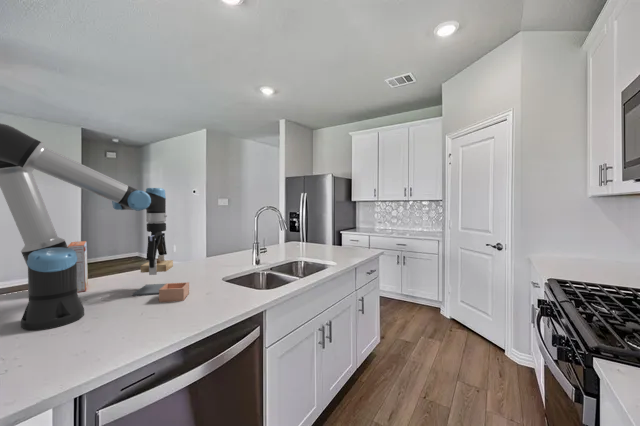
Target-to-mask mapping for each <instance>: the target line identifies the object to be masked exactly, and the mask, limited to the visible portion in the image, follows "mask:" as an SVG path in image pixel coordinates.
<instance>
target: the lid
mask: <svg viewBox="0 0 640 426" xmlns="http://www.w3.org/2000/svg"><path fill="white" fill-rule="evenodd" d="M155 260H156V264H157V273H165V272H166V273H167V271H169V270H171V269H172V268H173V267H174V259H170V260H167V259H165V260H163V261H160V258H158V257H156V258H155ZM141 273H142V274H143V273H149V261H147V262H145V263H143V264H141V265H140V274H141Z"/></svg>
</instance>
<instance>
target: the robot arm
mask: <svg viewBox="0 0 640 426" xmlns="http://www.w3.org/2000/svg"><path fill="white" fill-rule="evenodd" d="M34 170H36V171H39V172H41V173H43V174H46V175H48V176H50V177H53V178H56V179H58V180H61V181H63V182H66V183H68V184H70V185H73V186H75V187H77V188H80V189H81V190H85V191H87V192H89V193H92V194H94V195H97V196H99V197H102V198H104V199H106V200H108V201H111V204H112V208H113V209H114V210H116V211H117V210H118V211H119V210H120V211H126V210H127V211H128V210H129V211H137V212H140V211H144V210H146V211H145V212H146V213H145V215H146V218H145V219H146V231H147V232H149V233H150V235H148V236H147V250H146V257H145V260H146V261H148V262H149V272H148V275H149V276H156V275H158V272H157V264H156V260H155V259H156V258H160V261H163V260H166V255H167V254H168V251H167V246H166V235H165V234H166V233H165V231H167V223H166V221H167V217H168V215H167V214H166V213H167V211H166V206H167V205H166V200H167V198H166V190H165V189H164V188H163V187H162V188H161V187H147V188H146V189H145V191H144V190H139V189H136V188H134V187H132V186H129V185H128V184H125V183H123V182H121V181H119V180H117V179H115V178H112V177H110V176H108V175H106V174H104V173H102V172H99V171H98V170H95V169H93V168H91V167H89V166H87V165H84V164H82V163H80V162H78V161H76V160H73V159H71V158H70V157H67V156H65V155H62V154H60V153H58V152H57V151H54V150H52V149H49V148H48V147H46V146H45V144H44V142H42V141H40V140H38V139H36V138H34V137H32V136H30V135H28V134H26V133H24V132H23V131H21V130H19V129H18V128H15V127H13V126H11V125H9V124H5V123H1V122H0V190H1V192H2V195H3V197H4V200H5V201H6V204H7V206H8V209H9V211H10V214H11V216H12V218H13V220H14V222H15V225H16V227H17V230H18V232H19V235H20V236H21V240H22V241H23V243H24V246H23V247H22V249H21V250H20V252H21V255H22V257H23V259H24V262H25V264H26V266H27V284H28V285H27V287H28V288H27V289H28V292H27V293H28V301H27V305H26V307H25V309H24V311H23V315H22V316H21V319H20V328H21V329H22V330H24V331H39V330H48V329H53V328H58V327H61V326H65V325H69V324H70V323H71V324H72V323H74V322H77V321H79V320H80V319H82V318H83V317H84V316H85V307H84V305H83V303H82V300H81V299H80V297H79V294H78V292H77V255H76V251H75V250H73V249H71V248H68V244H67V242H66V240H65V239H64V238H62V237H59V236H58V234H57V232H56V229H55V227H54V225H53V222H52V219H51V217H50V215H49V214H50V213H49V211H48V209H47V207H46V205H45V202H44V200H43V197H42V195H41V192H40V189H39V187H38V185H37V182H36V179H35V177H34V174H33V171H34ZM157 253H158V255H157ZM156 256H157V257H156Z"/></svg>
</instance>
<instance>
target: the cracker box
mask: <svg viewBox="0 0 640 426" xmlns="http://www.w3.org/2000/svg"><path fill="white" fill-rule="evenodd" d="M67 247H68V248H71V249H73V250H75V251H76V255H77V293H82V292H86V291H87V289H88V286H89V285H88V284H89V277H88V276H89V275H88V248H87V247H88V245H87V241H86V240H83V241H70V243H69V244H67Z"/></svg>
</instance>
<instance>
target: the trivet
mask: <svg viewBox="0 0 640 426" xmlns="http://www.w3.org/2000/svg"><path fill="white" fill-rule="evenodd" d="M165 284H166V283H151V284H150V283H149V284H144V286H142V287H141V288H139V289H138V290H136V291H135V292H133V293H132V296H133V297H134V296H136V297H137V296H151V295H153V296H154V295H155V296H156V295H159V289H160V288H162V287H163V286H164V285H165Z"/></svg>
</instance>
